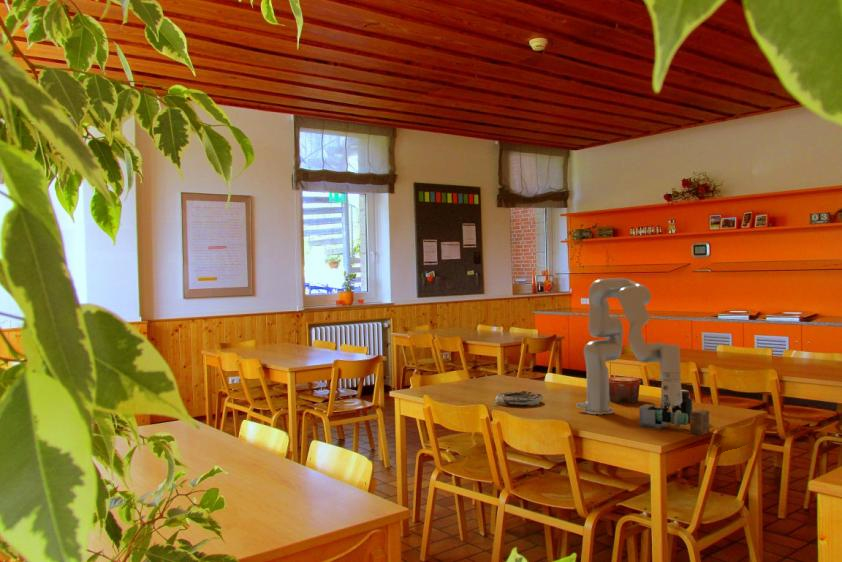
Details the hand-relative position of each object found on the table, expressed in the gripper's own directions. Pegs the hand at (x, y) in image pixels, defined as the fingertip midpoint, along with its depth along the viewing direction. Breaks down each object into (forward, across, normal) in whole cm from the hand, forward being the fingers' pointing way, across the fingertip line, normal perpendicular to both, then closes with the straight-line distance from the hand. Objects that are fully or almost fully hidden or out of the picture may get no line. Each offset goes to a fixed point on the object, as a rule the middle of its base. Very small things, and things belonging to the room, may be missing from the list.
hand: (671, 419), depth 279 cm
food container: (+3, +43, +40) cm, 59 cm away
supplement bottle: (+4, +18, +2) cm, 19 cm away
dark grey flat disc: (+3, +11, +78) cm, 79 cm away
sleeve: (+4, 0, +8) cm, 8 cm away
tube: (+2, 0, +2) cm, 3 cm away
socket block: (+4, 0, -11) cm, 11 cm away
